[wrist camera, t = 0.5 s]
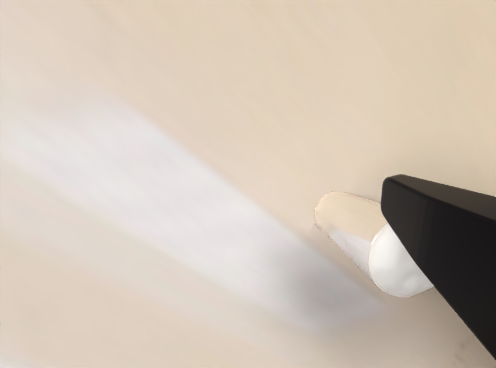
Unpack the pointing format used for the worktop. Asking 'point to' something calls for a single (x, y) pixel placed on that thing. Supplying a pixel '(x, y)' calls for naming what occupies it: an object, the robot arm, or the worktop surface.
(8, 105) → the worktop surface
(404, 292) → the milkshake
